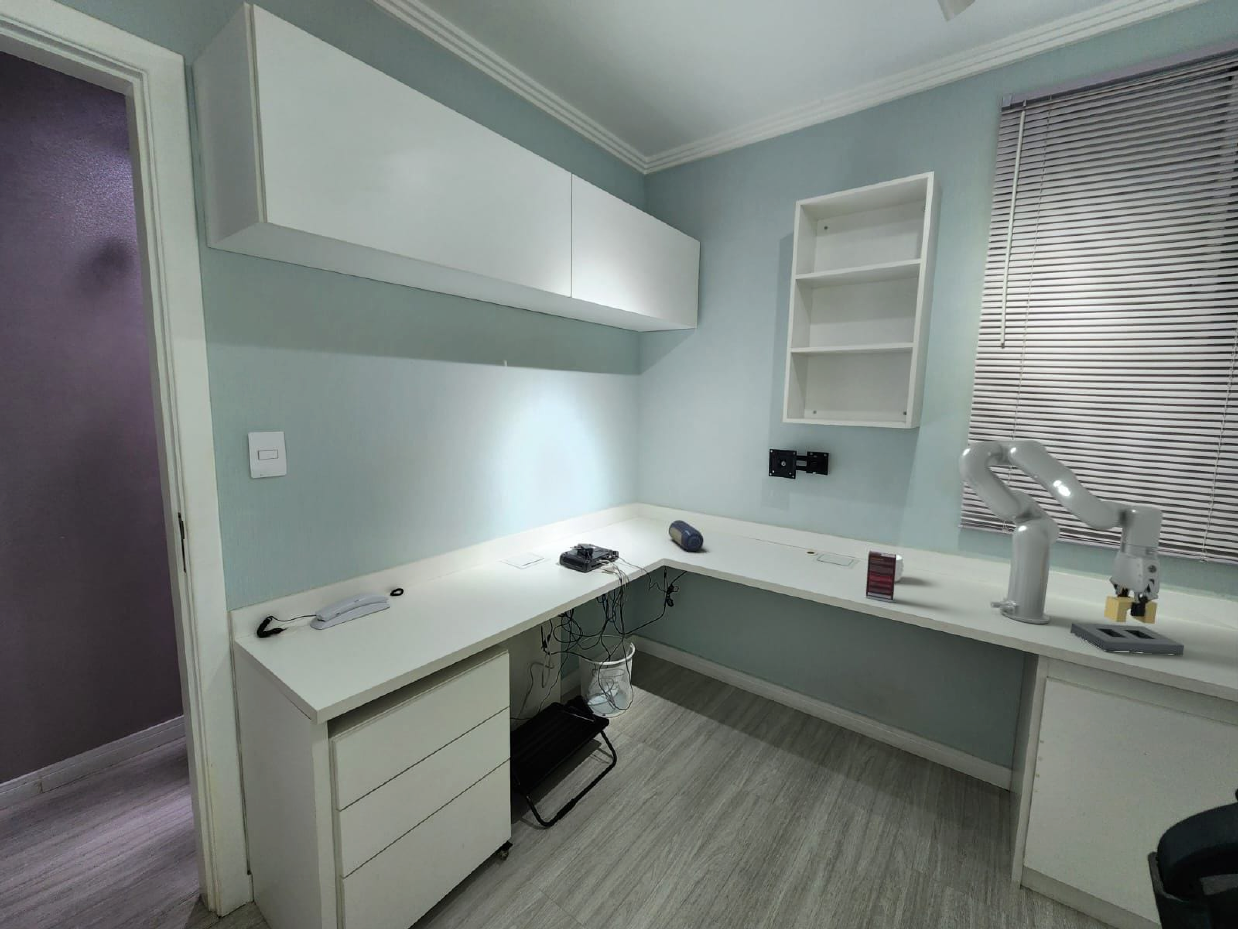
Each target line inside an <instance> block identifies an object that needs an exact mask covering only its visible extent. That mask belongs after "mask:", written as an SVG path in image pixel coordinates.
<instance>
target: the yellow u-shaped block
mask: <svg viewBox="0 0 1238 929" xmlns="http://www.w3.org/2000/svg"><path fill="white" fill-rule="evenodd" d="M1132 602H1134V596H1133V597H1132V596H1130V597H1117V596H1111V595H1110V596H1106V598H1105V606H1104V608H1105V609H1104V614H1103V617H1104V618H1107V619H1109V620H1110V621H1113V622H1115V623H1127V616H1128V610H1127V609H1129V610H1131V606H1132ZM1157 608H1158V602H1155V601H1154V600H1151V601H1149V603H1148V604H1146V606H1145V613H1144V616H1143V617H1136V616H1131V618H1132V619H1134V620H1135V621H1139V622H1141V623H1143V624H1147V625H1148V624H1149V625H1150V624H1152V625H1154V624H1156V613H1157Z"/></svg>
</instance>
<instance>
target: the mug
mask: <svg viewBox="0 0 1238 929" xmlns="http://www.w3.org/2000/svg"><path fill="white" fill-rule="evenodd" d="M888 553H889V554H892V553H890V552H888ZM904 566H905V564H904V563H903V557H902V556H900V555H898V554H896V569H895V582H894V583H896V582H899V581H900V580H901V579H902V575H903V572H904Z"/></svg>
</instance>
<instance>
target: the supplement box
mask: <svg viewBox="0 0 1238 929" xmlns="http://www.w3.org/2000/svg"><path fill="white" fill-rule="evenodd" d="M889 553H890V552H882V551H881V552H880V551H875V550H874V551H873V550H870V551H869V552H868V555H867V557H868V558H867V571H866V586H865V598H866V599H871V600H876V601H877V600H878V601H884V602H888V603H893V602H894V592H895V583H896V582H895V569H896V555H897V553H896V554H895V553H891V554H889Z"/></svg>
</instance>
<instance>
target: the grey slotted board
mask: <svg viewBox="0 0 1238 929" xmlns="http://www.w3.org/2000/svg"><path fill="white" fill-rule="evenodd" d="M1070 626H1071V627H1070V633H1071V634H1072V633H1074V634H1075V635H1074V634H1073V635H1074V636H1076V637H1078V638H1079V637H1081V638H1082V639H1081V638H1080V639H1081V640H1083V639H1084V640H1083V641H1085V640H1087V641H1088V642H1089V644H1090V643H1092V644H1094V645H1095V646H1097V647H1099V648H1101V649H1102V650H1106V651H1129V652H1143V653H1150V654H1149V655H1156V654H1174V655H1173V656H1175V655H1183V654H1184V649H1185V645H1184V644H1182V643H1180V642H1178V641H1176V640H1173V639H1172V638H1169V637H1167V636H1166V635H1162V634H1160V633H1158V632H1156V631H1154V630H1152V629H1150V628H1147V627H1145V626H1143V625H1142V626H1141V625H1123V624H1122V625H1120V624H1102V623H1101V624H1100V623H1085V622H1084V623H1083V622H1081V623H1079V622H1072V623H1071V625H1070ZM1088 642H1087V643H1088ZM1092 644H1091V645H1092ZM1094 645H1093V646H1094ZM1095 646H1094V647H1095ZM1097 647H1096V648H1097ZM1099 648H1098V649H1099ZM1101 649H1100V650H1101ZM1102 650H1101V651H1102ZM1151 653H1152V654H1151Z"/></svg>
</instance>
